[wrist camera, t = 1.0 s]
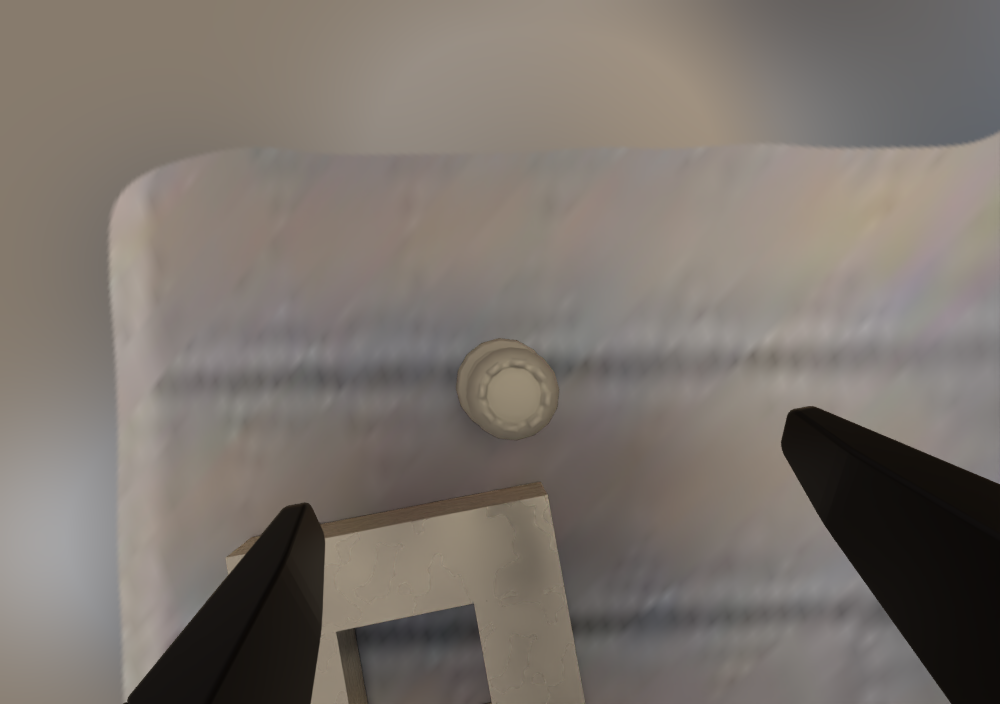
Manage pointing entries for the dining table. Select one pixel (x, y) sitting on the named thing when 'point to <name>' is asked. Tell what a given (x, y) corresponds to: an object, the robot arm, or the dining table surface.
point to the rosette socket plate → (452, 590)
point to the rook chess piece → (507, 389)
